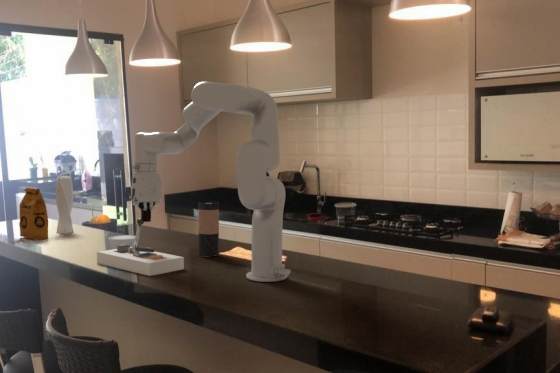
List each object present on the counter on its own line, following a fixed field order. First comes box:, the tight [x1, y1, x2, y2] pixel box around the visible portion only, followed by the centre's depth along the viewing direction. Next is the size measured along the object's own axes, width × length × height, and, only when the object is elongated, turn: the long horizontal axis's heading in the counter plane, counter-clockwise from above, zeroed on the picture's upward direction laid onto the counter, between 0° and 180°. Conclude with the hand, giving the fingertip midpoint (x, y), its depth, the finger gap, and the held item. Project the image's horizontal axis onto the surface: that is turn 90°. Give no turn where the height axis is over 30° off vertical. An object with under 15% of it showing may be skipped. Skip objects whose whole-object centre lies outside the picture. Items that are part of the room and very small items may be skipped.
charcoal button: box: [117, 244, 130, 253], centre depth 199 cm, size 4×4×3 cm
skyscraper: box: [55, 171, 74, 235], centre depth 266 cm, size 8×8×28 cm
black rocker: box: [135, 246, 155, 252], centre depth 192 cm, size 3×5×1 cm, turn 140°
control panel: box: [96, 247, 185, 277], centre depth 194 cm, size 29×14×6 cm, turn 50°
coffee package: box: [18, 187, 49, 241], centre depth 249 cm, size 10×12×22 cm
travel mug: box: [197, 201, 220, 257], centre depth 214 cm, size 8×8×20 cm
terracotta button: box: [150, 255, 163, 260], centre depth 188 cm, size 4×4×3 cm
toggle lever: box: [130, 217, 145, 253], centre depth 196 cm, size 2×2×12 cm
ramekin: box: [107, 234, 136, 250], centre depth 223 cm, size 11×11×5 cm
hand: (146, 221), depth 199 cm, fingers closed
